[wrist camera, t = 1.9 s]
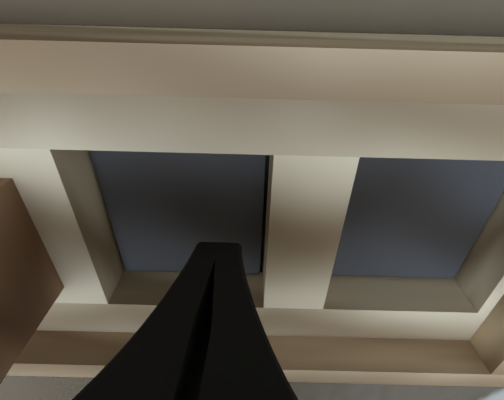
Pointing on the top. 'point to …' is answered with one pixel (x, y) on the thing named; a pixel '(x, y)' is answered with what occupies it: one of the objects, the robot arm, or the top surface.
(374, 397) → the top surface
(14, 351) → the walnut block
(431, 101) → the trap track
